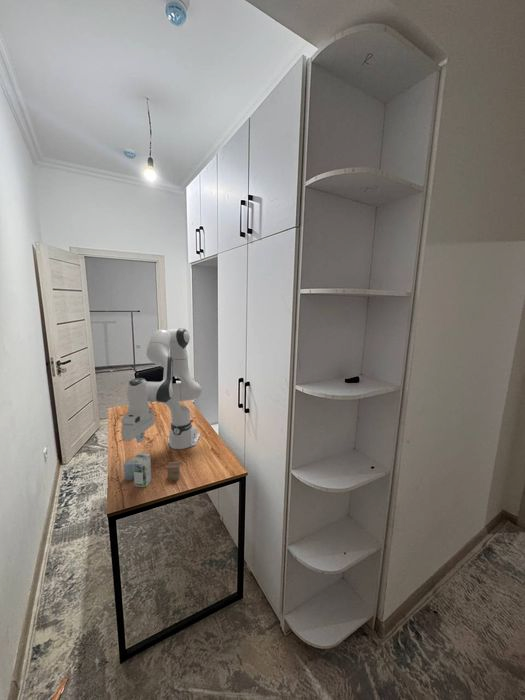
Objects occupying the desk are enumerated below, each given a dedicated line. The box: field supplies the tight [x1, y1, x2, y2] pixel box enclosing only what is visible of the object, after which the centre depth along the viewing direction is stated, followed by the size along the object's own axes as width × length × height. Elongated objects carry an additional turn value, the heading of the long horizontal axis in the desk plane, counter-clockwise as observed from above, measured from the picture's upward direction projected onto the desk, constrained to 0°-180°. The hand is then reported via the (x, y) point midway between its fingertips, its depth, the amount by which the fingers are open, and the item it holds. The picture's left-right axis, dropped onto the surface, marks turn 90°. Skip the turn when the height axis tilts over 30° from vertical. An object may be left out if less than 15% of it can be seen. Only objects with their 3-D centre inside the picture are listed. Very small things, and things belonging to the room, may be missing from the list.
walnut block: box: [166, 461, 180, 482], centre depth 145 cm, size 5×5×7 cm
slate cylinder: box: [123, 459, 134, 482], centre depth 144 cm, size 5×5×8 cm
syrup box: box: [132, 452, 152, 488], centre depth 139 cm, size 6×6×14 cm
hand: (140, 441), depth 136 cm, fingers closed
